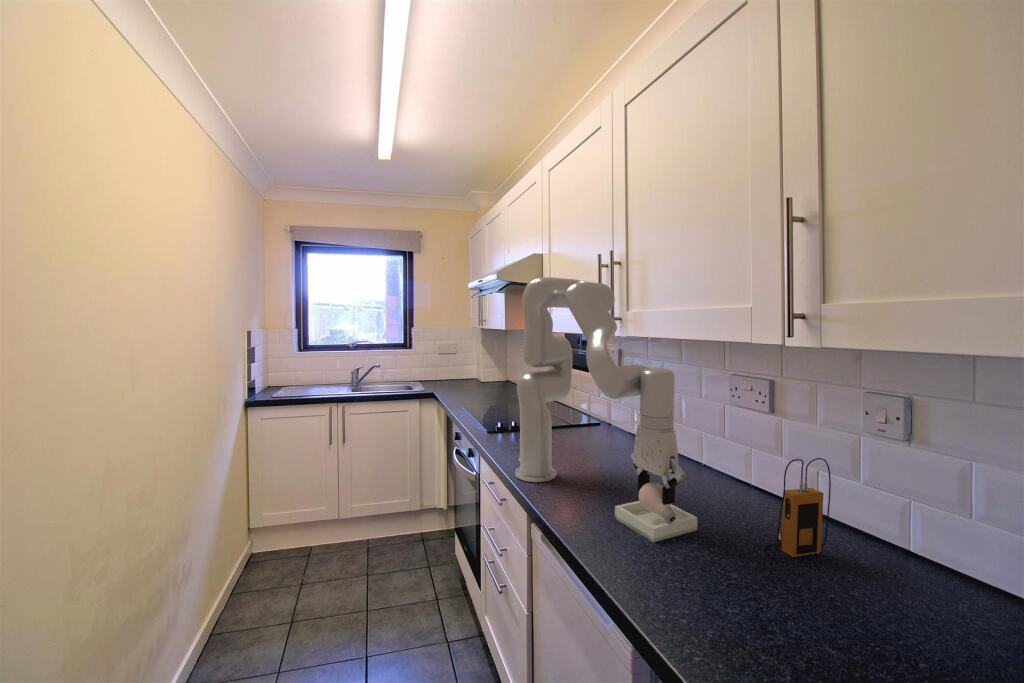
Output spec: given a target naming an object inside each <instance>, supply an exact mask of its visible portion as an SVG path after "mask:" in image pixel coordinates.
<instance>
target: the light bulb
mask: <svg viewBox="0 0 1024 683" xmlns="http://www.w3.org/2000/svg"><path fill="white" fill-rule="evenodd" d="M663 487H664V486H662V485H661V484H659V483H656V482H650V483H647V484H645V485H643V486H642V487H641V489H640V491H639V492H638V501H640V503H641V505H642V506H643V507H644V508H645V509H646V510H648V511H651V512H654V513H656V514H658V515H659V516H660V517H663V518H664V519H665V521H666V522H668V523H671V522H673V521H674V520H675V519H676V513H675V512H674V511H673V510H672V507H671V506H670V504H666V505H664V504H662V488H663Z"/></svg>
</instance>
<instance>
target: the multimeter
mask: <svg viewBox="0 0 1024 683" xmlns="http://www.w3.org/2000/svg"><path fill="white" fill-rule="evenodd" d="M817 460H822V461H824V462H825V464H826V466H827V470H828V478H829V479H828V483H829V484H828V501H827V502H828V503H827V514H826V515H827V516H826V517H827V518H826V526H825V533H824V534H825V535H824V541H823V543H822V536H823V535H822V534H823V533H822V532H823V516H824V515H823V514H824V512H823V510H824V492H822V491H819V490H818V489H815V488H813V487H808V468H809V466H810V464H811V463H812V462H814V461H817ZM797 461H801V470H800V473H801V474H800V475H801V476H800V483H799V488H794V489H786V475H787V471H788V469H789V466H790V465H791V464H792V462H797ZM804 462H805V461H804V460H803V459H802V458H795V459H792V460H791V461H789V462H788V463H787V465H786V467H785V470H784V476H783V492H782V494H783V495H782V499H781V500H782V501H781V506H780V511H779V515H778V526H777V537H776V543H772V544H771V543H770V544H768V545H765V547H764V551H765V554H766V555H769V557H770V558H771V559H775V557H776V554H777V550H778V547H779V546H781V551H782V552H783V553H785V554H786V555H788V556H789V555H790V557H792V558H793V557H796V558H797V556H798V557H802V556H803V555H805V556H810V555H809V554H813V555H815V554H814V553H820V552H822V545H824V546H825V545H826V542H827V536H828V528H829V527H828V526H829V518H830V515H829V514H830V505H831V504H830V503H831V487H832V484H831V483H832V480H831V470H830V466H829V464H828V461H826V459H824V458H821V457H818V458H814V459H812V460H810V461H809V462H808V463H807V465H806V467H805V477H804V476H803V475H804V465H805V463H804ZM803 478H804V479H803ZM803 482H804V483H803ZM781 515H782V516H781ZM781 519H782V520H781ZM781 523H782V524H781ZM780 525H782V526H780ZM780 528H781V532H780V533H779V531H780ZM779 540H780V541H779ZM821 544H822V545H821ZM771 546H775V550H774V552H773V556H771V554H769V552H768V551H767V550H766V549H767V548H769V547H771ZM820 554H821V553H820ZM803 557H804V556H803Z"/></svg>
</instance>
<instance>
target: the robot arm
mask: <svg viewBox="0 0 1024 683" xmlns="http://www.w3.org/2000/svg"><path fill="white" fill-rule="evenodd" d="M615 300H616V299H615V295H614V292H613V289H612V288H611V287H610V286H609V285H607V284H605V283H602V282H592V281H587V280H581V279H575V278H561V277H548V276H546V277H538V278H535V279H533V280H530V282H529V283H528V284H527V285H526V287H525V288H524V291H523V293H522V311H523V317H524V318H523V319H524V320H523V321H524V323H523V325H524V326H523V344H522V345H523V350H522V352H523V353H522V354H523V361H524V363H525V364H526V365H527V366H528V367H530V368H531V367H532V368H547V370H539V371H537V370H536V371H530V372H527V373H525V374H523V375H521V376H520V378H518V380H517V384H516V394H517V399H518V404H519V423H520V424H519V425H520V427H519V432H520V433H519V444H520V445H519V457H518V458H517V460H518V462H519V467H517V468H516V469H515V471H514V475H515V477H516V478H517V479H518V480H521V481H524V482H528V483H544V482H545V483H546V482H549V481H552V480H554V479H556V477H557V470H556V469H555V468H553V467H552V454H553V453H552V450H553V449H552V446H553V445H552V439H553V438H552V435H553V433H552V432H553V430H552V427H553V425H552V422H553V420H552V414H551V411H550V409H549V407H548V405H547V403H549V402H555V401H560V400H563V399H566V398H567V397H568V395H569V393H570V391H571V386H572V374H573V373H572V372H573V371H572V370H573V368H572V367H573V348H572V345H571V343H570V341H569V340H568V339H567V338H566V337H565V336H563V335H560V334H553V328H554V327H553V326H554V323H553V322H554V321H553V318H552V314H551V312H550V311H549V309H550V308H562V309H563V308H565V309H566V308H567V309H569V311H570V313H571V314H572V316H573V318H574V320H575V322H576V323H577V325H578V326H579V329H580V330H581V332H582V334H583V335H584V337H585V339H586V342H587V344H586V347H585V349H586V350H585V359H586V360H585V361H586V366H587V369H588V371H589V374H590V375H591V377H592V379H593V381H594V383H595V384H596V386H597V388H598V389H599V390H600V392H601V393H602V394H603V395H604V396H605V397H607V398H608V399H613V400H616V399H617V400H618V399H619V400H620V399H624V398H629V397H636V396H639V415H638V416H639V424H638V425H637V428H636V430H635V439H634V447H633V452H632V453H631V454H630V458H631V460H632V463H633V466H634V468H635V474H636V475H637V492H638V493H639V491H640V489H641V487H642V486H643V485H645V484H647V483H651V480H650V479H651V478H650V477H651V476H650V474H649V473H651V474H653V475H655V476H658V477H661V479H662V482H663V485H664V486H662V487H663V488H662V504H664V505H666V504H672V505H673V504H675V502H676V501H675V499H676V487H678V485H679V484H680V483H681V482H682V480H683V479H684V478H685V477H686V473H685V472H684V471H683V470H684V469H682V468H681V465H679V453H678V452H679V451H678V441H677V435H676V431H675V430H674V429H675V383H676V382H675V381H676V380H675V378H676V377H675V373H674V372H673V371H672V369H667V368H659V367H657V368H656V367H653V368H652V367H649V366H646V365H642V364H630V365H618V366H617V365H616V363H615V361H614V359H613V358H612V357H611V354H610V352H609V348H608V340H610V339H611V338H612V337H614V335H615V334H616V333H617V330H618V325H617V322H616V321H615V320H614V318H613V316H612V315H611V313H610V311H611V310H612V309H613V307H614V305H615V302H616V301H615ZM668 477H669V478H668Z"/></svg>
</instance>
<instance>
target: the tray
mask: <svg viewBox="0 0 1024 683" xmlns="http://www.w3.org/2000/svg"><path fill="white" fill-rule="evenodd" d="M670 506H671V507H672V510H673V511H674V512H675V513H676V519H675V520H674V521H673V522H671V523H668V522H666V521H665V519H664V518H663V517H660V516H659V515H658V514H656V513H654V512H651V511H648V510H646V509H645V508H644V507H643V506H642V505H641V503H640V501H639V500H637V501H633V502H628V503H627V502H626V503H622V504H619V505H615V506H614V519H615V520H617V521H618V522H620V523H621V524H623V525H625V526H626V527H628V528H629V529H631V530H632V531H634V532H636V533H637V534H639V535H640V536H642V537H644V538H645V539H647V540H649V541H650V542H651V543H657V542H660V541H664V540H668V539H671V538H675V537H679V536H682V535H685V534H688V533H689V534H690V533H692V532H696V531H698V516H695V515H694V514H691V513H689V512H687V511H685V510H684V509H681V508H680V507H678V506H675V505H674V504H673V503H672V504H670Z"/></svg>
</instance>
